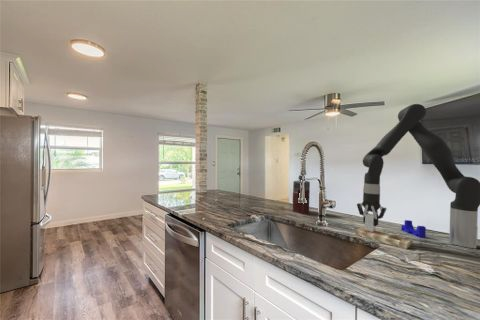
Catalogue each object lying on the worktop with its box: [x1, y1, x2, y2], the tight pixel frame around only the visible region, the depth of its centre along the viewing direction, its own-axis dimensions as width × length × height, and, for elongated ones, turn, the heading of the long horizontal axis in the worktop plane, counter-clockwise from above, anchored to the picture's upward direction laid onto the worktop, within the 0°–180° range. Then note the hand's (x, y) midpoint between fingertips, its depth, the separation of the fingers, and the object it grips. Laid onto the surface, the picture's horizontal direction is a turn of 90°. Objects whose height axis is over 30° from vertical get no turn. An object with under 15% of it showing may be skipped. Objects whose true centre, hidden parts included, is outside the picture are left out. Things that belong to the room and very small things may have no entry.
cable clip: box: [401, 219, 427, 239], centre depth 117 cm, size 12×4×6 cm, turn 173°
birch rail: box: [354, 226, 413, 250], centre depth 107 cm, size 22×10×3 cm, turn 39°
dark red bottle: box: [292, 174, 311, 215], centre depth 160 cm, size 9×11×28 cm
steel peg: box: [364, 212, 377, 233], centre depth 112 cm, size 4×4×9 cm
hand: (370, 224), depth 112 cm, fingers closed on steel peg, 4 cm apart
